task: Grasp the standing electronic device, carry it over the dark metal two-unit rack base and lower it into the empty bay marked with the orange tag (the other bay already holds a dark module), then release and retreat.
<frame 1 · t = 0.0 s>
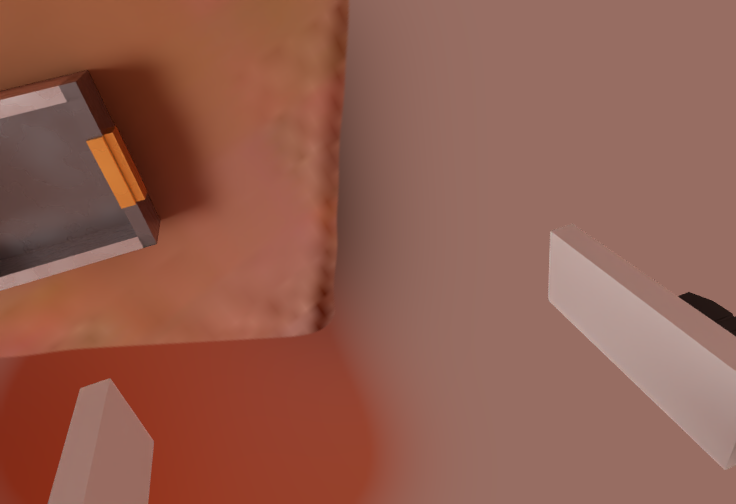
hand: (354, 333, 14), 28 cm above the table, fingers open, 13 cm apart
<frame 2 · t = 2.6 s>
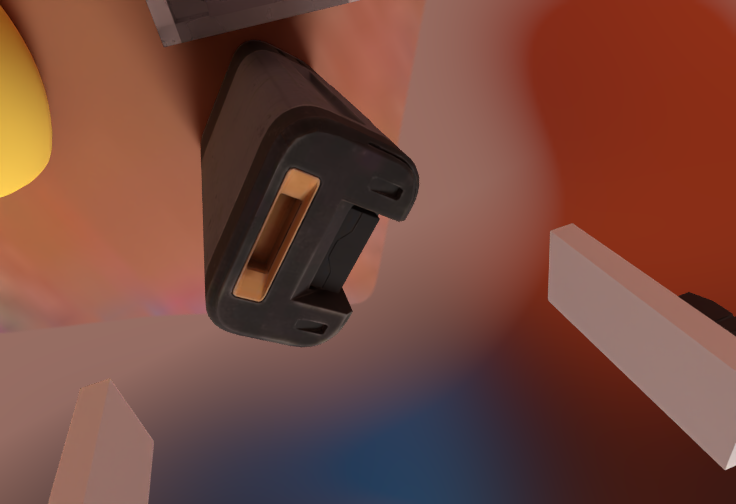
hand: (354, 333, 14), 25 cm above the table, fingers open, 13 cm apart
electronic device: (257, 113, 35), on the table
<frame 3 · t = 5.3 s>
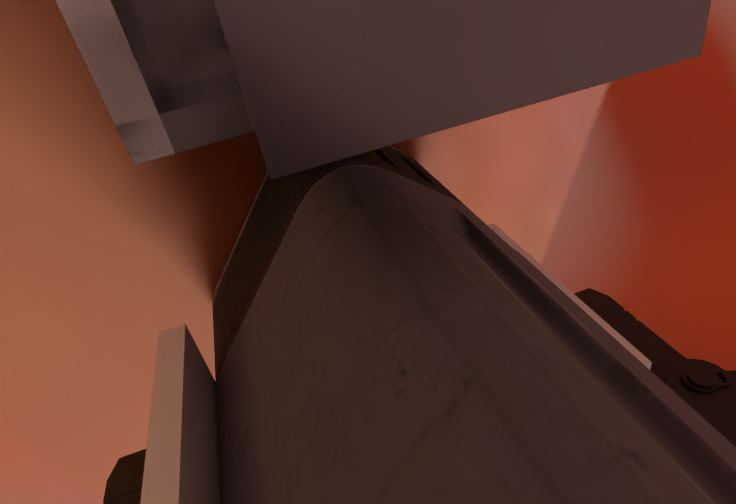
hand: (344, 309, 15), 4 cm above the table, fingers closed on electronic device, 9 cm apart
electronic device: (315, 239, 19), on the table, touching gripper
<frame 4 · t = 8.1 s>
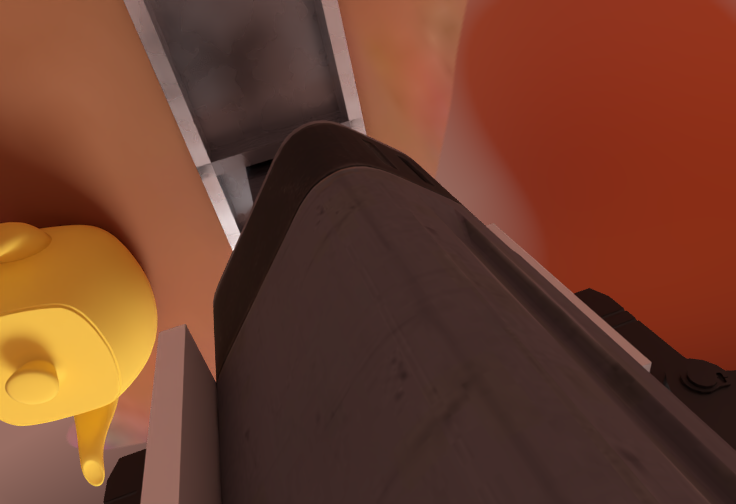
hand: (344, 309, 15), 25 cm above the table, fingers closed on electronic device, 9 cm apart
teapot: (52, 295, 39), on the table
rack: (265, 99, 36), on the table
electronic device: (315, 240, 19), point 21 cm above the table, touching gripper
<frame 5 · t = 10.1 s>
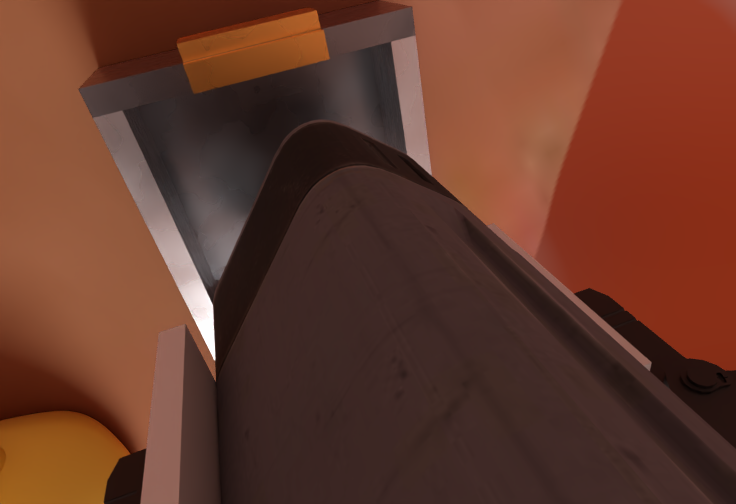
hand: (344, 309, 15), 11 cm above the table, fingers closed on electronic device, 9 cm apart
teapot: (11, 490, 29), on the table
rack: (308, 248, 26), on the table
electronic device: (315, 240, 19), point 6 cm above the table, touching gripper
when the fingers open (7 cm above the table, at t = 11.2 s): electronic device drops 1 cm, resting on rack.
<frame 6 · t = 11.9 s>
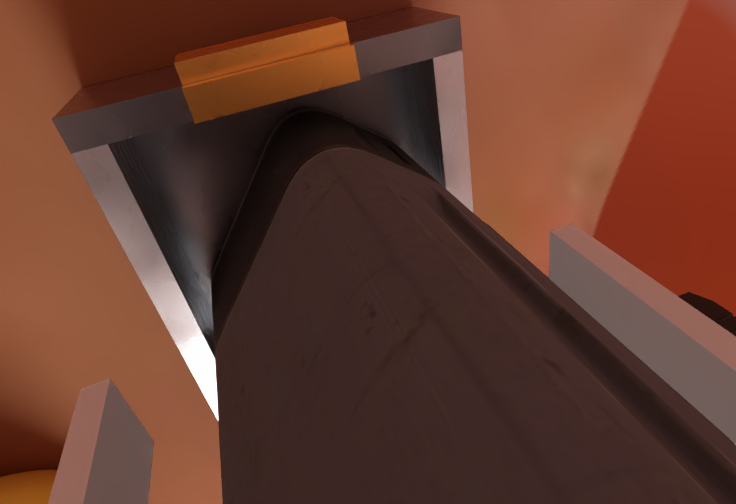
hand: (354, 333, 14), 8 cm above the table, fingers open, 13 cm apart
rack: (325, 286, 23), on the table
electronic device: (306, 223, 20), point 1 cm above the table, touching rack
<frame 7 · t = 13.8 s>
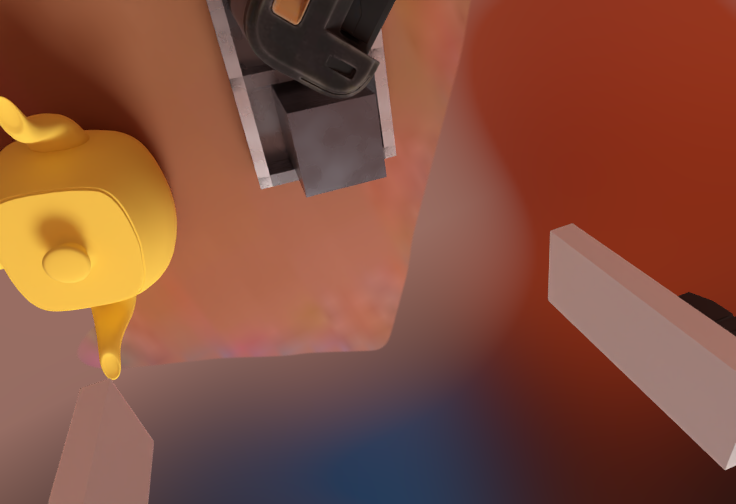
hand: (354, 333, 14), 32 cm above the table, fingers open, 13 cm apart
teapot: (79, 203, 41), on the table
rack: (294, 28, 39), on the table
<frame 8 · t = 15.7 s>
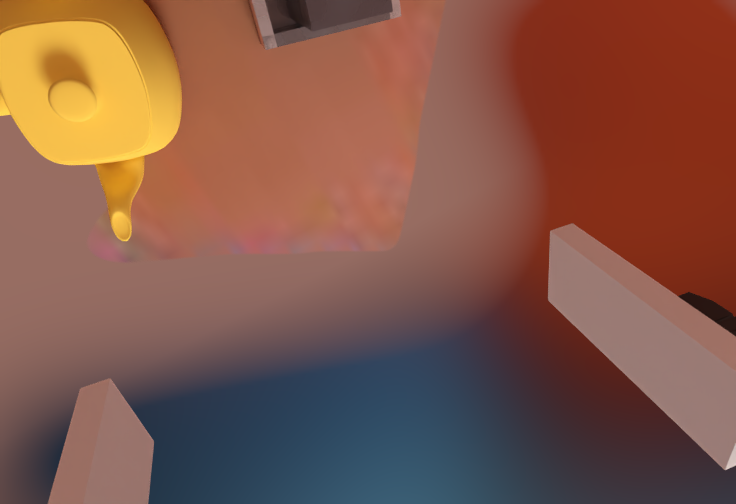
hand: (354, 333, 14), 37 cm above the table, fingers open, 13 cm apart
teapot: (82, 73, 41), on the table
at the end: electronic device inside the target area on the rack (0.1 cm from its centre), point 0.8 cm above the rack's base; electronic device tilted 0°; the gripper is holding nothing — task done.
